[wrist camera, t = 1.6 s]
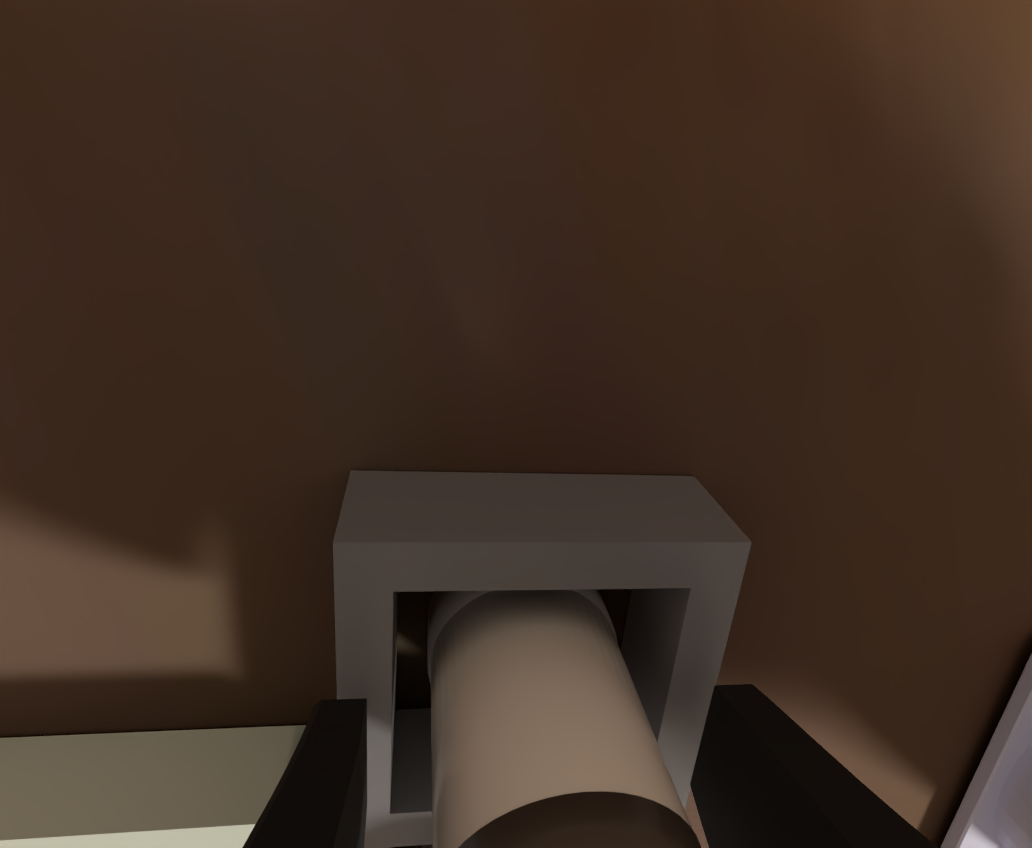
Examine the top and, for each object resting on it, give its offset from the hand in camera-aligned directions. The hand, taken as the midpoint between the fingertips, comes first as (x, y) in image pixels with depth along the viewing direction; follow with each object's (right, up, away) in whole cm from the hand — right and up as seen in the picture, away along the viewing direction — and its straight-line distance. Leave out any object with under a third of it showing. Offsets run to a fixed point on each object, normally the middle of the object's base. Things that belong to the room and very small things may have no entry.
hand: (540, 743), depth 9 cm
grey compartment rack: (-1, -1, +4) cm, 4 cm away
